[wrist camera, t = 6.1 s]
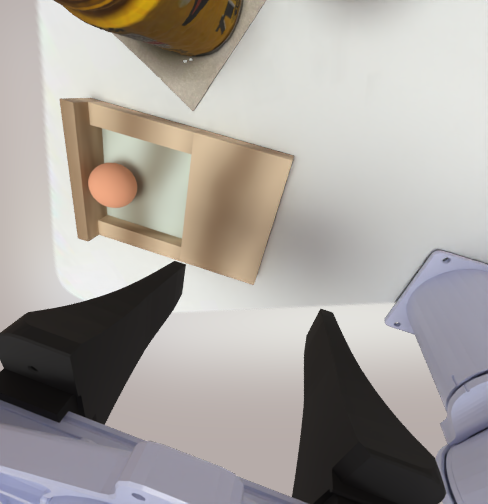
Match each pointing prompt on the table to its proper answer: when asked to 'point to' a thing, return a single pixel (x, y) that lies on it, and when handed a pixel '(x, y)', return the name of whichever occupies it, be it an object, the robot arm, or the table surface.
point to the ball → (112, 185)
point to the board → (175, 187)
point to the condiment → (174, 35)
